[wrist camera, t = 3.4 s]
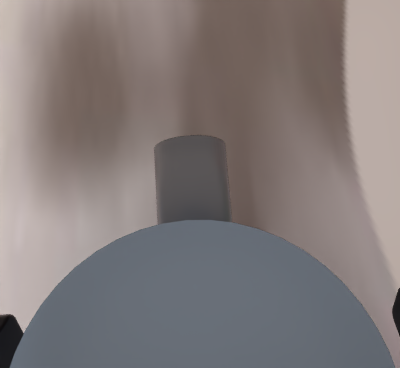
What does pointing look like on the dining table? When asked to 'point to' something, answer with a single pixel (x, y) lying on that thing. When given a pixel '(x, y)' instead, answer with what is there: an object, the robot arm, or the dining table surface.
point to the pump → (200, 290)
